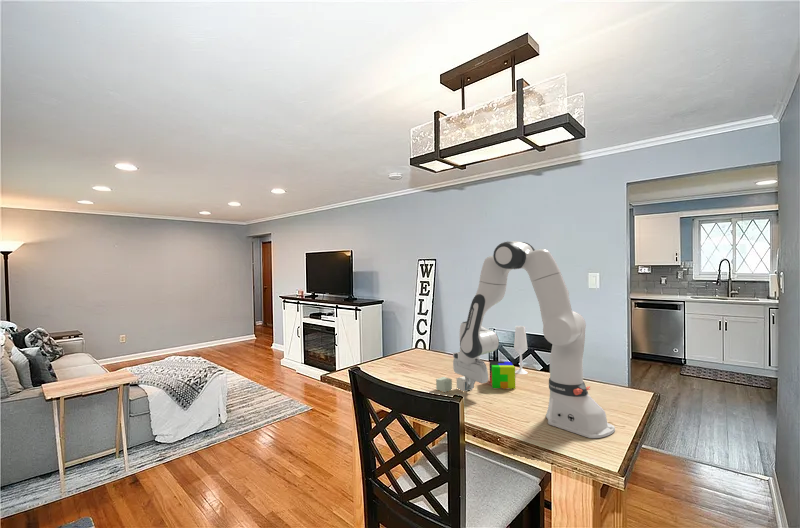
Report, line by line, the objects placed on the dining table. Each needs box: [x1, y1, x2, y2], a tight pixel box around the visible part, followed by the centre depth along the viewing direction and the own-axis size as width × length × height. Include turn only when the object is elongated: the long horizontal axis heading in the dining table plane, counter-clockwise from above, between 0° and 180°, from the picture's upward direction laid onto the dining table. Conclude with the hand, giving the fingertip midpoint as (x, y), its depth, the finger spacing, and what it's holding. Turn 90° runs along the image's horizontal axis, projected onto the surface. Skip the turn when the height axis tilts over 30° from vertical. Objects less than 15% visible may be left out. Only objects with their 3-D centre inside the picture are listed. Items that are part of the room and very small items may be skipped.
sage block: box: [435, 376, 453, 393], centre depth 167 cm, size 5×5×5 cm
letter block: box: [456, 376, 473, 392], centre depth 167 cm, size 5×5×5 cm
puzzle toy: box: [489, 360, 516, 390], centre depth 172 cm, size 10×10×10 cm
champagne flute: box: [513, 325, 528, 375], centre depth 192 cm, size 7×7×24 cm
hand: (470, 387), depth 163 cm, fingers closed
